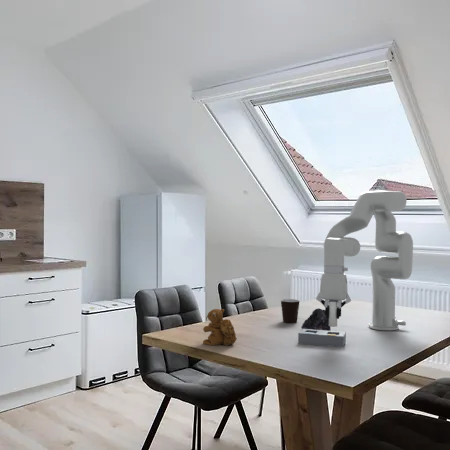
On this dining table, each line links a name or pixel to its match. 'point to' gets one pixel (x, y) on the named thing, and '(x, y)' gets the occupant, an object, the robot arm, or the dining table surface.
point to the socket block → (322, 337)
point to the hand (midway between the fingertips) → (333, 317)
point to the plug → (333, 313)
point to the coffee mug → (290, 310)
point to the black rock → (317, 321)
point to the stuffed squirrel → (219, 329)
